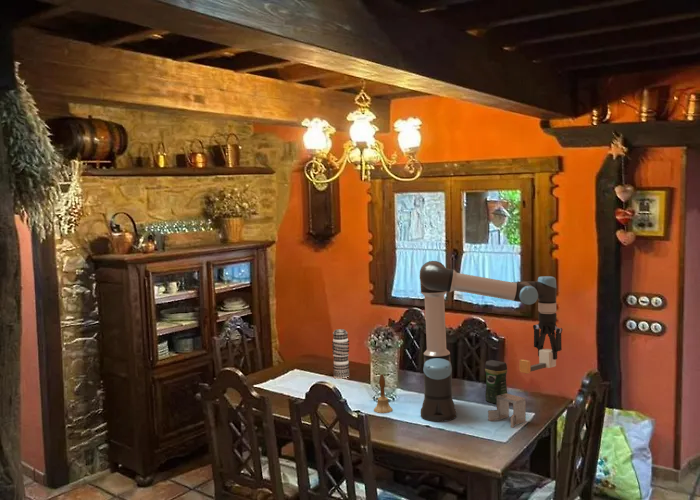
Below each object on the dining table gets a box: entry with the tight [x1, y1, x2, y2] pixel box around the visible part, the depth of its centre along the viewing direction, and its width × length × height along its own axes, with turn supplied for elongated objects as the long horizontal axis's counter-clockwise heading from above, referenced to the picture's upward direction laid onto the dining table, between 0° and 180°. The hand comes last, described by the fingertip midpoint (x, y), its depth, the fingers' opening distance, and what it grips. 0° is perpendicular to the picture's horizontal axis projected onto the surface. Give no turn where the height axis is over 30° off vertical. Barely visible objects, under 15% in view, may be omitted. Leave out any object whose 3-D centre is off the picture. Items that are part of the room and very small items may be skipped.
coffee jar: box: [484, 359, 508, 405], centre depth 301 cm, size 10×8×19 cm
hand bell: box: [373, 373, 393, 414], centre depth 293 cm, size 8×8×16 cm
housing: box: [487, 392, 527, 429], centre depth 274 cm, size 10×13×10 cm
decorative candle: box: [331, 328, 350, 380], centre depth 351 cm, size 9×9×25 cm
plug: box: [519, 348, 552, 374], centre depth 285 cm, size 19×5×7 cm, turn 128°
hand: (547, 365), depth 290 cm, fingers closed on plug, 5 cm apart
